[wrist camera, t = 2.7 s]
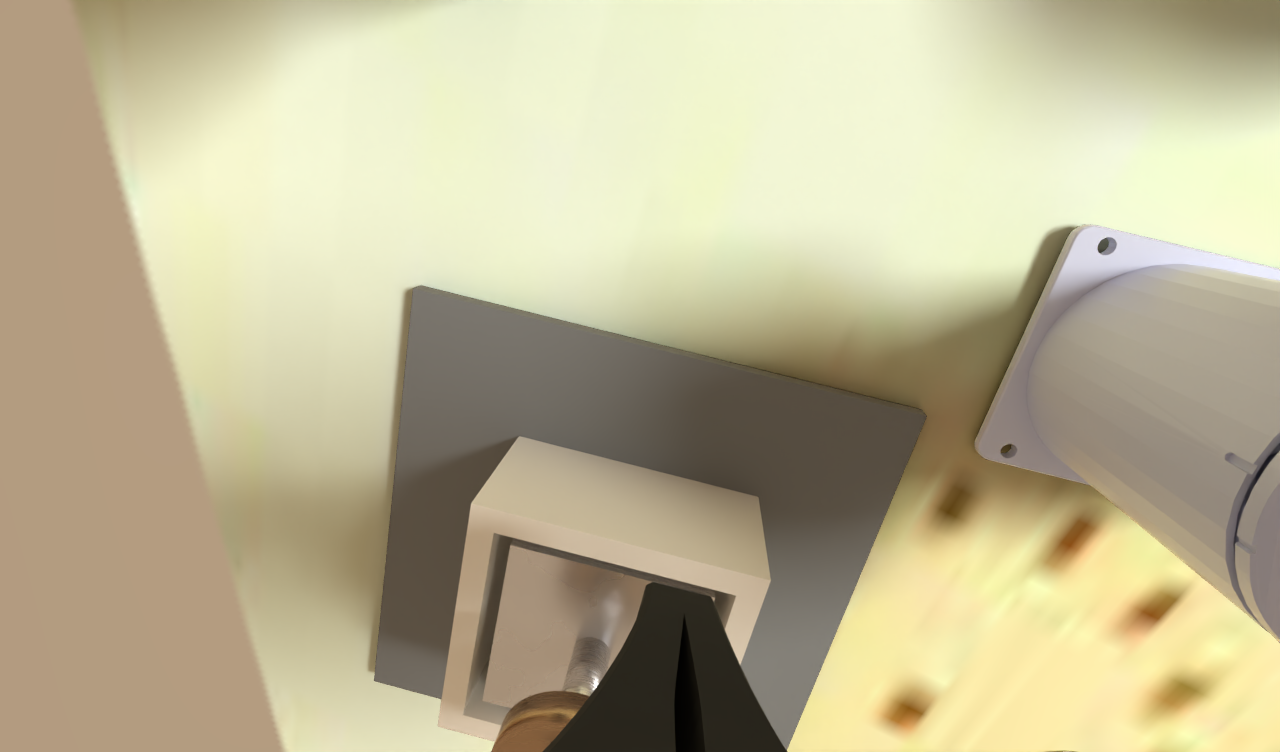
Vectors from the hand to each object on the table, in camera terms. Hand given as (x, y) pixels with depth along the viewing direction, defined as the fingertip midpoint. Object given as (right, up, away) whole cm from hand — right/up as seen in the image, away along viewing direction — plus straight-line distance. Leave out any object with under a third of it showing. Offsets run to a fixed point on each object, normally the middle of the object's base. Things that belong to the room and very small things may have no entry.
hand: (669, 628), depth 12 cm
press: (-2, -2, +11) cm, 12 cm away
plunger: (-2, -4, +8) cm, 9 cm away
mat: (-2, -2, +12) cm, 12 cm away
